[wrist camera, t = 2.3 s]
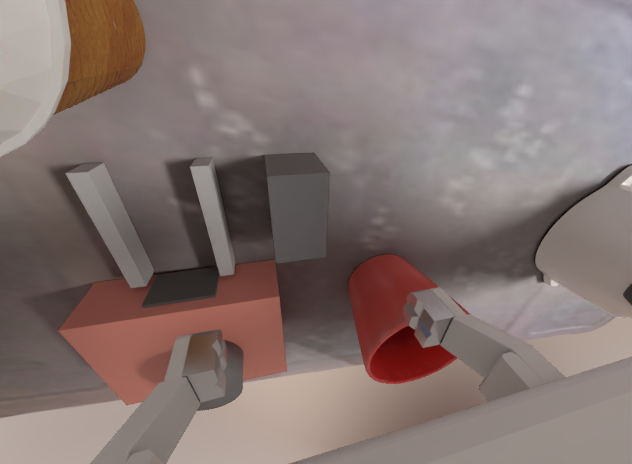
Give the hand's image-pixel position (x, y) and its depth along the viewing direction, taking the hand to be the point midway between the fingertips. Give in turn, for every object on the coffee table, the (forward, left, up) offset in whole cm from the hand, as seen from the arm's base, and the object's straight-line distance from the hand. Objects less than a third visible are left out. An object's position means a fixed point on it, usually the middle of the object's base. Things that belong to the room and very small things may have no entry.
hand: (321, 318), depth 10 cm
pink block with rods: (+10, +8, -13) cm, 18 cm away
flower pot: (-10, +12, -13) cm, 21 cm away
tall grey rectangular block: (0, 0, -13) cm, 13 cm away
